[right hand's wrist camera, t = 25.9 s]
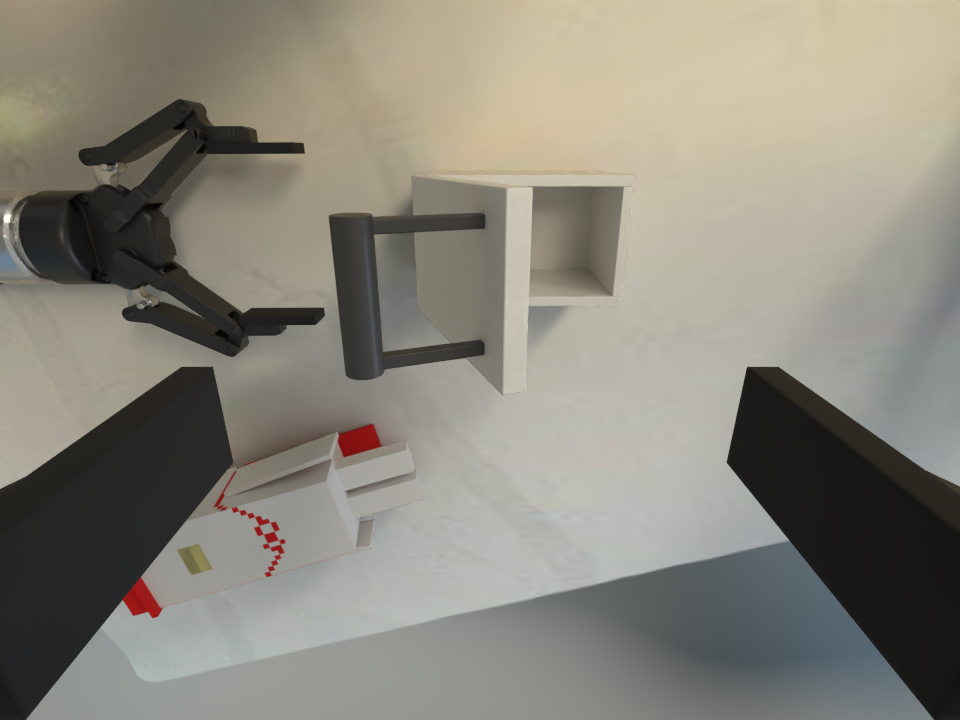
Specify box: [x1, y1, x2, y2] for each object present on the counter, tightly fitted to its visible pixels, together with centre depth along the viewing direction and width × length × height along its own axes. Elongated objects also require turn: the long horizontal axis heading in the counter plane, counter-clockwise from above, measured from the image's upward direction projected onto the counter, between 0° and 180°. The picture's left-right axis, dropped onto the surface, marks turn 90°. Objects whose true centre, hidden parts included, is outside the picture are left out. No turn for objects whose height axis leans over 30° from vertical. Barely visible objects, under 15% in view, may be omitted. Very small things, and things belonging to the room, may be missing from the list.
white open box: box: [423, 171, 635, 306], centre depth 43 cm, size 16×10×11 cm, turn 90°
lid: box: [329, 175, 533, 395], centre depth 29 cm, size 16×10×8 cm
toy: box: [123, 424, 423, 618], centre depth 54 cm, size 12×13×30 cm
